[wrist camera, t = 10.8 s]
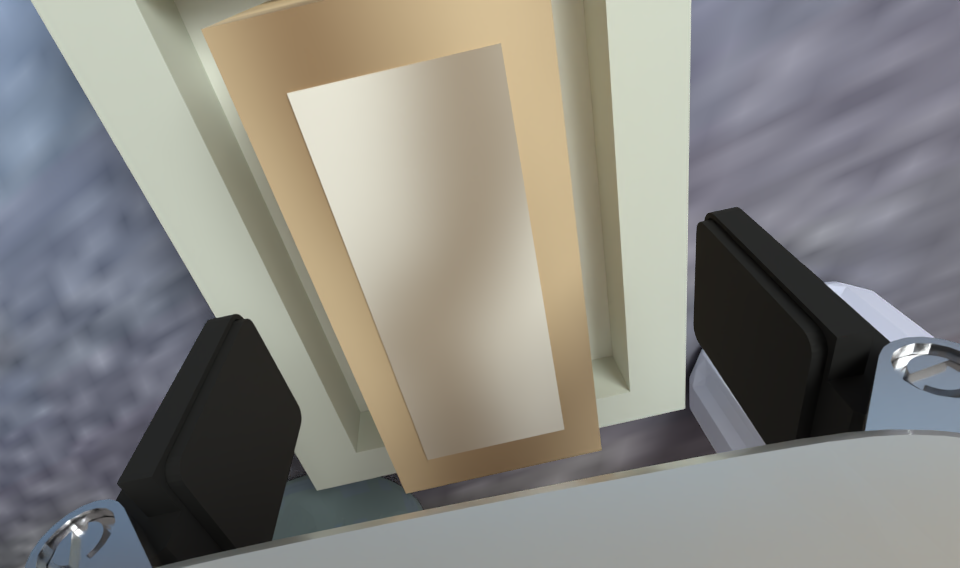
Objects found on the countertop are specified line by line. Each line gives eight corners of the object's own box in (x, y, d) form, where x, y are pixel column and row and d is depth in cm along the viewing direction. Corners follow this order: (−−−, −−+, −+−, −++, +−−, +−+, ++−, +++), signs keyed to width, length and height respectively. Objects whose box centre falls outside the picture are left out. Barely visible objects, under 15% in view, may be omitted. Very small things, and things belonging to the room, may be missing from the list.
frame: (502, -55, 13) (545, -53, 9) (562, 345, 20) (602, 451, 16) (266, 1, 13) (199, 29, 9) (406, 380, 21) (406, 495, 16)
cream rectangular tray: (656, -218, 13) (731, -266, 10) (664, 351, 23) (703, 414, 20) (50, -72, 13) (-57, -76, 10) (316, 429, 23) (302, 503, 20)
